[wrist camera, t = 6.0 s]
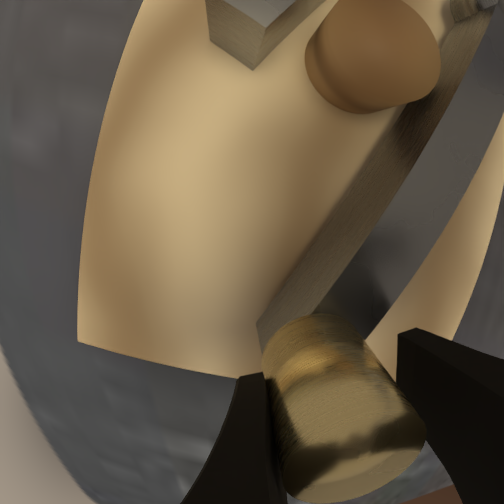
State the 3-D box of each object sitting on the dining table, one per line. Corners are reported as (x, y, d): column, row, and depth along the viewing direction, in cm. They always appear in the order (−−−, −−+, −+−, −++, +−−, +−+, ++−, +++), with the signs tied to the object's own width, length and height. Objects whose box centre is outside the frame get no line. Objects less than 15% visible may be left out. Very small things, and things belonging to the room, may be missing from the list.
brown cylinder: (404, 45, 10) (444, 24, 7) (389, 128, 11) (433, 122, 8) (315, 9, 10) (339, -28, 7) (294, 94, 11) (315, 72, 8)
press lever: (460, -20, 8) (552, -68, 1) (507, 32, 9) (604, 8, 2) (229, 322, 12) (237, 486, 5) (305, 363, 12) (362, 508, 6)
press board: (502, 25, 11) (513, 21, 10) (417, 382, 16) (424, 392, 15) (205, -97, 8) (204, -108, 7) (85, 330, 13) (77, 341, 12)
